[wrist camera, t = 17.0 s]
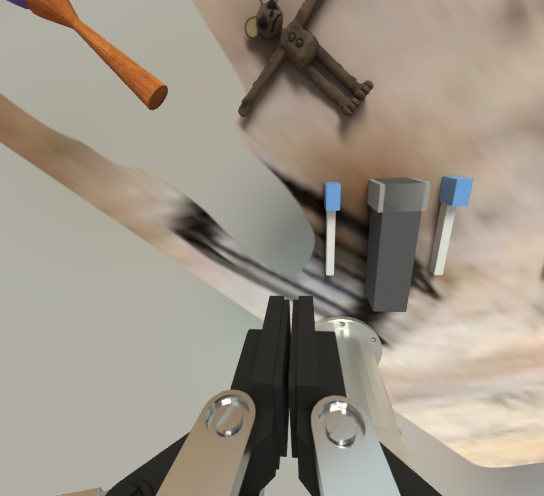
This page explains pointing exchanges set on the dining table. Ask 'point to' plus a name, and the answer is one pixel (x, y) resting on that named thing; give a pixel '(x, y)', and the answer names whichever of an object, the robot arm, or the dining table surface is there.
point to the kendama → (102, 50)
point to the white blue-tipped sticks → (451, 195)
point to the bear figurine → (299, 55)
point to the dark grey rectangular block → (393, 240)
